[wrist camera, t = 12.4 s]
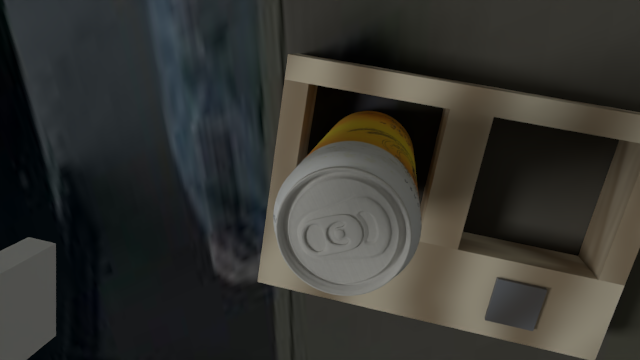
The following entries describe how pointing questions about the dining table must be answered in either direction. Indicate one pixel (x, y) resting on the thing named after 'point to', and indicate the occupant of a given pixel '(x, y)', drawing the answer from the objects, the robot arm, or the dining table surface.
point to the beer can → (351, 207)
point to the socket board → (453, 204)
